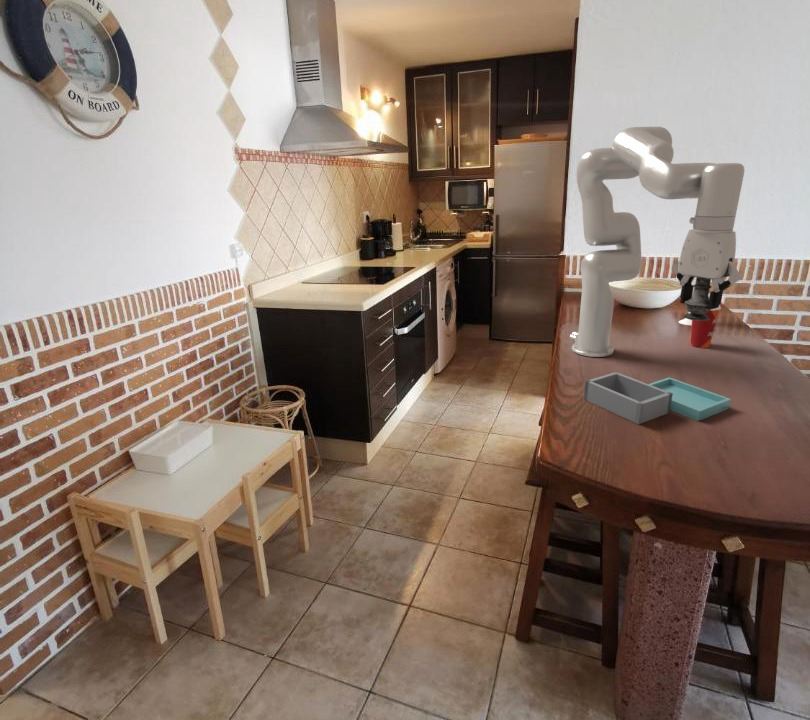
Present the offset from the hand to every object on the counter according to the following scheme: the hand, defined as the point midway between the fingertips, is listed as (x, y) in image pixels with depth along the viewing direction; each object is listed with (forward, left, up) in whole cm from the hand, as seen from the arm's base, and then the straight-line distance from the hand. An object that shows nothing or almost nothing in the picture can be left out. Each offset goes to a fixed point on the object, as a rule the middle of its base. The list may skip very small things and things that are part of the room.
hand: (699, 304), depth 114 cm
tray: (0, 0, -25) cm, 25 cm away
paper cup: (-23, +43, -25) cm, 55 cm away
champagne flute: (-40, +63, -25) cm, 79 cm away
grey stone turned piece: (0, 0, -3) cm, 3 cm away
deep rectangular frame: (-6, -13, -25) cm, 29 cm away
